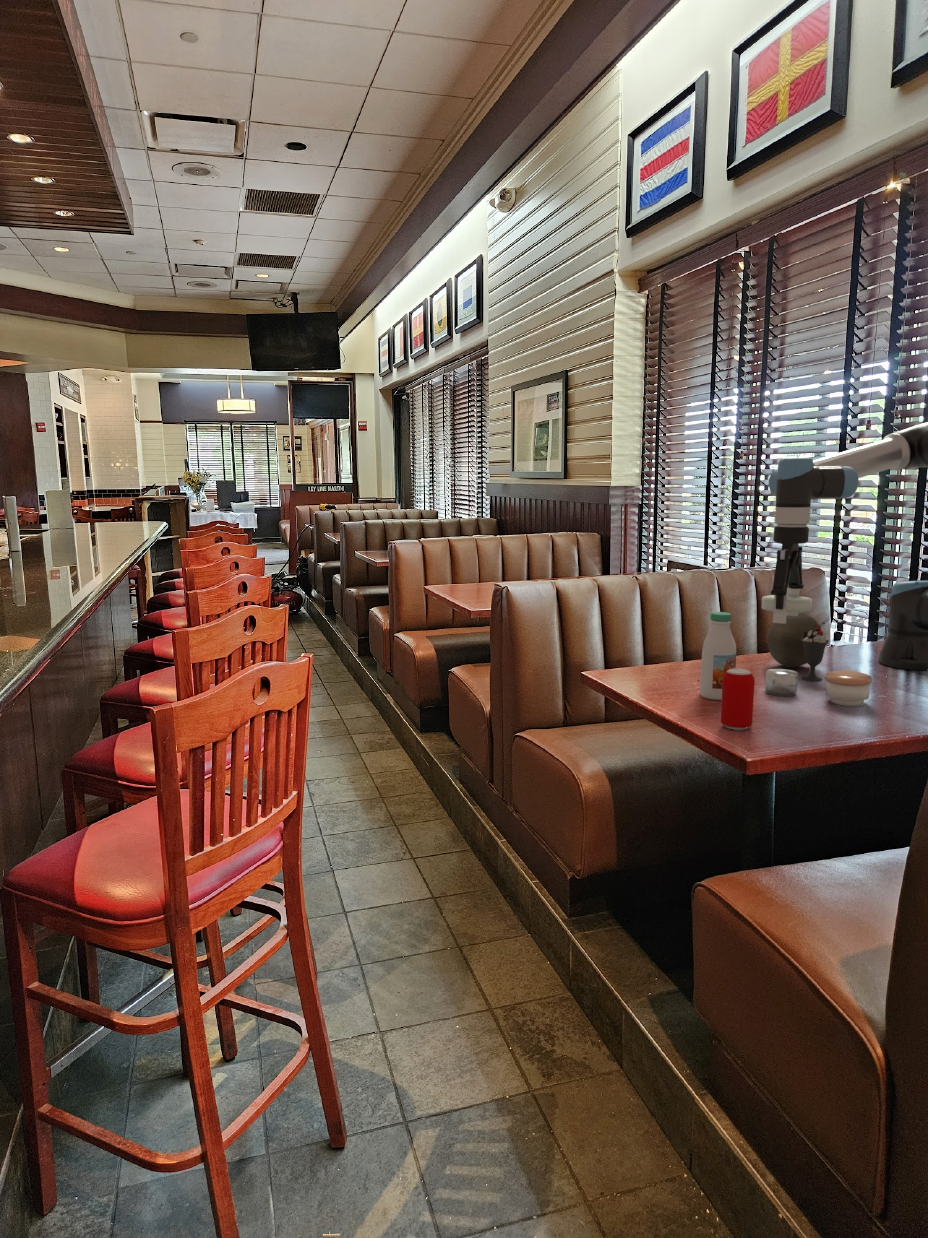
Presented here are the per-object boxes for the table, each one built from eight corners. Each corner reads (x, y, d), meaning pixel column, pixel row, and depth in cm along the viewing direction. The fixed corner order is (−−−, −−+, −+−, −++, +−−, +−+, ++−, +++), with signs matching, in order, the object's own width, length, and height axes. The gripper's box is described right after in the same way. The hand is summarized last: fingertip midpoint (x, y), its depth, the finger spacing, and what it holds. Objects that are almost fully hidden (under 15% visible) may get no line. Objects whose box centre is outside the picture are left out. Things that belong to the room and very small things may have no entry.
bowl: (845, 693, 190) (847, 668, 189) (879, 704, 182) (881, 678, 180) (814, 698, 187) (815, 674, 186) (847, 710, 178) (849, 684, 177)
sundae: (829, 683, 201) (833, 624, 198) (800, 681, 202) (804, 623, 200) (823, 676, 207) (827, 619, 205) (795, 675, 209) (799, 618, 206)
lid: (791, 604, 196) (792, 594, 195) (822, 611, 185) (822, 600, 185) (752, 606, 193) (752, 596, 192) (780, 613, 182) (781, 602, 182)
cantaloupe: (754, 663, 222) (757, 610, 220) (799, 660, 225) (802, 607, 223) (785, 675, 209) (789, 618, 206) (832, 672, 212) (836, 616, 209)
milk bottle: (698, 699, 187) (702, 614, 184) (701, 691, 195) (705, 609, 191) (733, 702, 185) (737, 616, 181) (735, 694, 192) (739, 611, 188)
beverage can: (756, 731, 164) (760, 674, 162) (727, 732, 163) (730, 675, 161) (744, 722, 170) (747, 667, 168) (715, 723, 169) (718, 668, 167)
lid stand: (784, 687, 197) (785, 668, 196) (802, 695, 190) (804, 674, 189) (759, 689, 195) (760, 669, 194) (777, 697, 188) (778, 676, 188)
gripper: (787, 522, 197) (781, 610, 201) (760, 528, 178) (755, 625, 182) (819, 523, 193) (813, 613, 197) (796, 529, 174) (790, 628, 178)
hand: (785, 619), depth 189 cm, fingers closed on lid, 11 cm apart
